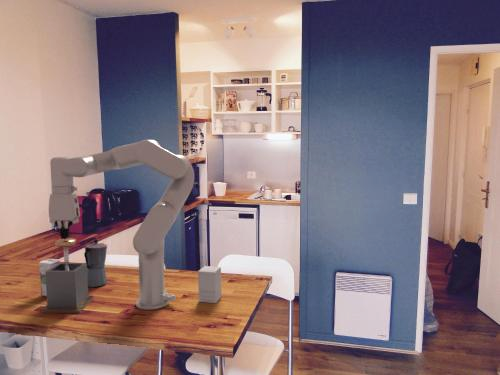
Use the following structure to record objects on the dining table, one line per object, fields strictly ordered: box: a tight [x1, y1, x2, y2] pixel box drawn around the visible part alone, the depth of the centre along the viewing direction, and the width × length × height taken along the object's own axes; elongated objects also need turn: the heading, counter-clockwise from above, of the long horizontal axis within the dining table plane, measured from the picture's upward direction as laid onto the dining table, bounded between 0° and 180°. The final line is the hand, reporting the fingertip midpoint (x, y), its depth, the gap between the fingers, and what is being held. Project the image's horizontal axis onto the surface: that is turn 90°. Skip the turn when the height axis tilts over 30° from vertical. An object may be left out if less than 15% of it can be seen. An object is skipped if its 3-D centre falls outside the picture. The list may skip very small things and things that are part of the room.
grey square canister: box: [40, 262, 95, 314], centre depth 162 cm, size 14×14×15 cm
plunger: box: [54, 237, 77, 271], centre depth 161 cm, size 8×8×14 cm
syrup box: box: [38, 258, 61, 298], centre depth 173 cm, size 6×6×14 cm
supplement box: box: [197, 265, 222, 304], centre depth 168 cm, size 7×7×13 cm
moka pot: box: [83, 239, 108, 288], centre depth 185 cm, size 10×15×20 cm, turn 174°
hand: (65, 238), depth 160 cm, fingers closed
